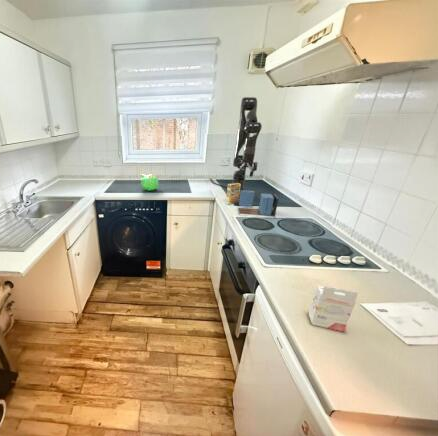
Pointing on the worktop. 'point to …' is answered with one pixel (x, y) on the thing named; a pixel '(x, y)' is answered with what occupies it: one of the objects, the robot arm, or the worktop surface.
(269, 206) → the shelved book
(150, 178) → the green rounded lump
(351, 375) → the worktop surface
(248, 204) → the blue book
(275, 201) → the book rack
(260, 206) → the shelved book
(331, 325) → the ink cartridge box
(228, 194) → the candy box
